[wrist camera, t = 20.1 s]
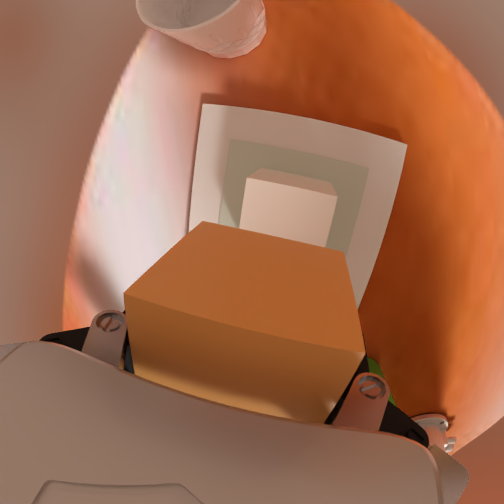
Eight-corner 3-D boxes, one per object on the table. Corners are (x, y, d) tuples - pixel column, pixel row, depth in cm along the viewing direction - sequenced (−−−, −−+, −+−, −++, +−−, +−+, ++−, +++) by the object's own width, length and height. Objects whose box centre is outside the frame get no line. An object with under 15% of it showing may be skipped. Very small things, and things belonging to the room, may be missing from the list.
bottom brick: (331, 182, 23) (337, 196, 18) (310, 266, 26) (309, 301, 21) (261, 167, 24) (246, 177, 18) (247, 252, 27) (231, 283, 22)
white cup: (251, 76, 22) (216, 44, 13) (177, 52, 22) (117, 24, 13) (288, 9, 18) (274, -48, 9) (212, -11, 18) (169, -60, 9)
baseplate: (403, 144, 21) (408, 144, 20) (352, 314, 29) (353, 321, 28) (206, 104, 23) (202, 103, 22) (189, 277, 31) (184, 282, 30)
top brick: (343, 252, 11) (365, 353, 6) (306, 356, 14) (297, 459, 9) (202, 220, 12) (123, 293, 7) (194, 329, 15) (144, 418, 9)
